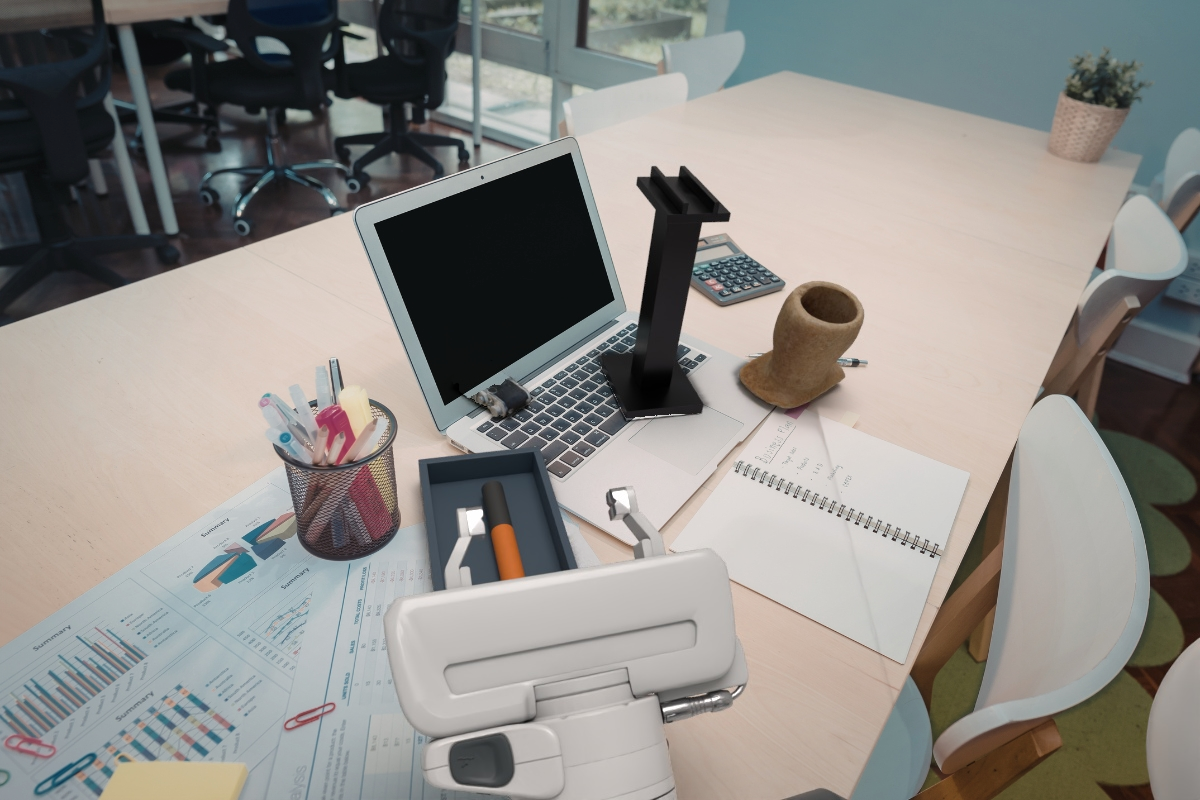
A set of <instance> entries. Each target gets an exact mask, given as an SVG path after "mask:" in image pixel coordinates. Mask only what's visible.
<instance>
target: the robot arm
mask: <svg viewBox="0 0 1200 800" xmlns="http://www.w3.org/2000/svg"><path fill="white" fill-rule="evenodd" d="M637 500H638V499H637V496H636V490H635V488H634V486H633V485H626V486H621V487H613V488H609V489H608V491H607V492H606V493H605V502H606V505H607V506H608V507H609V509H608V517H609V521H610V522H614V521H615V522H616V521H622V522H623V523H624V524H625V526H626V527H627V528H628V530H629V532H631V534H632V535H633V536H634V537H635V538H636V540H637V541H638V542H637V543H636V544H634V545H633V547H632V552H633V557H634V559H629V560H622V561H616V562H610V563H604V564H598V565H597V564H596V565H591V566H585V567H578V569H572V570H566V571H560V572H553V573H547V574H541V575H535V576H528V577H522V578H516V579H510V580H504V581H497V582H491V583H485V584H479V585H472V582H471V574H470V568H469V567H468V566H466V567H461V568H460V566H461V563H462V561H463V559H464V556H465V554H466V552H467V549H468V547H469V544H470V542H471V541H477V540H483V539H484V536H485V534H486V533H485V525H484V522H483V521H482V518H483V510H482V506H475V507H466V508H459V509H457V512H456V515H457V526H458V535H459V538H458V540H457V543H456V545H455V547H454V549H453V552H452V554H451V556H450V559H449V561H448V563H447V566H446V568H445V573H444V578H445V587H446V590H441V591H435V592H433V591H429V592H423V593H417V594H411V595H403V596H399V597H397V598H394V600H393V601H392V602H391V603H390V605H389V607H388V608H387V609H386V611H385V612H384V613H383V618H382V621H383V623H382V624H383V633H384V640H385V647H386V652H387V658H388V664H389V668H390V673H391V678H392V682H393V686H394V690H395V693H396V697H397V700H398V703H399V707H400V709H401V712H402V714H403V716H404V718H405V720H406V721H407V723H408V724H409V725H410V727H412V728H413V730H415V731H416V732H417V733H419V734H421V735H423V736H425V737H428V738H429V739H428V740H427V741H425V743H424V744H423V745H422V747H421V751H420V752H421V753H420V769H421V773H422V776H423V779H424V780H425V782H426V783H427V784H428V785H430V786H431V787H433V788H436V789H440V790H446V791H455V792H466V793H473V794H476V795H487V796H491V795H494V796H495V795H497V796H504V797H509V799H510V800H678V795H677V787H676V781H675V776H674V771H673V765H672V760H671V756H670V750H669V746H668V739H667V737H666V731H665V725H666V724H671V723H675V722H678V721H683V720H687V719H690V718H693V717H695V716H699V715H703V714H707V713H719V712H723V711H725V710H728V709H730V708H731V707H733V705H734V701H735V700H736V699H739V697H740V696H741V695H742V694H743V692H744V691H745V689H746V687H747V685H748V682H749V678H750V677H749V676H750V674H749V667H748V663H747V659H746V655H745V654H746V653H745V650H744V647H743V644H742V642H741V640H740V638H739V637H738V636H737V631H736V618H735V608H734V599H733V593H732V586H731V580H730V576H729V575H730V574H729V570H728V567H727V563H726V561H725V560H724V559H723V558H722V557H721V556H720V555H719V554H718V553H717V552H716V551H715V550H714V549H712V548H711V547H704V548H696V549H691V550H684V551H679V552H672V553H667V552H666V546H665V542H664V538H663V535H662V534H661V533H660V532H659V531H658V529H657V528H656V527H655V526H654V525H653V524H652V522H650V520H649V519H648V518H647V517H646V515H644V514H643V512H642V511H639V510H640V509H639V504H638V501H637ZM459 568H460V569H459ZM734 687H736V688H735V689H734V690H733V691H732V692H731V691H730V690H729V689H731V688H734ZM1146 728H1147V729H1146V737H1145V752H1146V753H1145V754H1146V768H1147V773H1148V779H1149V784H1150V789H1151V793H1152V797H1153V799H1154V800H1200V637H1198V638H1197V639H1196V640H1194V642H1192V643H1191V644H1189V646H1188V647H1186V648H1185V649H1184V650H1183V651H1182V653H1180V655H1179V656H1178V657H1177V658H1176V659H1175V660H1174V662H1173V664H1172V665H1171V667H1170V668H1169V669H1168V671H1167V672H1166V674H1165V675H1164V677H1163V678H1162V680H1161V682H1160V684H1159V686H1158V689H1157V691H1156V693H1155V696H1154V698H1153V701H1152V704H1151V707H1150V711H1149V715H1148V721H1147V727H1146ZM781 800H848V798H845V797H843V796H841V795H840V794H838V793H835V792H833V790H830V789H827V788H825V787H818V788H815V789H812V790H808V791H805V792H802V793H798V794H796V795H792V796H788V797H786V798H782V799H781Z"/></svg>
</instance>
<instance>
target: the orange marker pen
mask: <svg viewBox="0 0 1200 800" xmlns="http://www.w3.org/2000/svg"><path fill="white" fill-rule="evenodd" d="M481 491H482V496H483V501H484V505H485V510H486V514H487V519H488V524H489V528H490V533H491V537H492V542H493V547H494V551H495V556H496V561H497V565H498V570H499V574H500V579H501V581H504V580H510V579H516V578H522V577H525V574H524V570H523V566H522V562H521V558H520V554H519V550H518V546H517V542H516V538H515V534H514V530H513V525H512V521H511V517H510V513H509V509H508V505H507V501H506V497H505V493H504V489H503V485H502V484H501V483H500V482H499V481H495V480H493V481H488V482H486V483H485V484H484V485H483V486H482V488H481Z"/></svg>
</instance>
